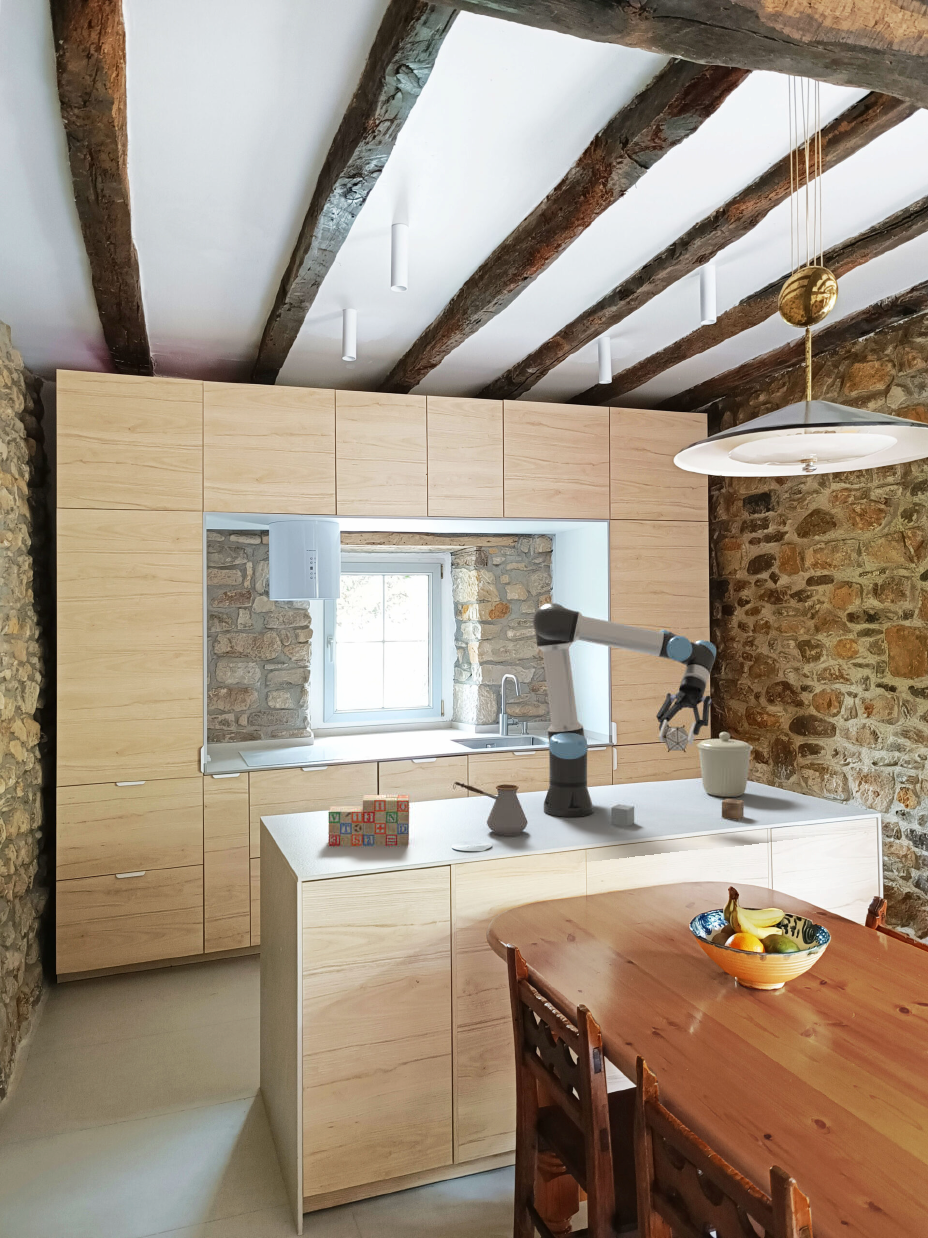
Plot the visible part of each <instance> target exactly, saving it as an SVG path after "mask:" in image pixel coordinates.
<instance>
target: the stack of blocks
mask: <svg viewBox="0 0 928 1238" xmlns="http://www.w3.org/2000/svg"><path fill="white" fill-rule="evenodd" d="M327 833H328V841H327V843H328V847H329V846H333V847H334V846H335V847H339V846H341V847H342V846H343V847H347V846H348V847H351V846H352V847H353V846H354V847H356V846H357V847H361V846H363V847H367V846H369V847H371V846H372V847H374V846H385V847H386V846H409V845H410V844H409V841H410V840H409V839H410V795H403V794H402V795H400V794H399V795H398V794H376V795H375V794H364V795H363V797H362V805H361V806H359V805H358V806H356V805H354V806H353V805H351V806H350V805H349V806H347V805H345V806H344V805H342V806H341V805H340V806H338V805H336V806H335V805H333V806H332V805H331V806H330V808H329V811H328V832H327Z"/></svg>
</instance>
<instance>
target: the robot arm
mask: <svg viewBox="0 0 928 1238" xmlns="http://www.w3.org/2000/svg"><path fill="white" fill-rule="evenodd" d="M532 625H533V629H534V631H535V633H534V634H535V639H536V640H535V641H536V647H537V648H538V649H539V650H540V651H541V652H542V658H543V666H544V667H543V668H544V675H545V682H546V683H545V684H546V693H547V698H548V707H549V708H548V709H549V715H550V716H549V717H550V721H551V724H550V725H549V727H548V728H547V737H548V751H549V754H548V755H549V757H548V759H549V762H548V763H549V765H548V766H549V770H548V771H549V773H548V774H549V777H548V781H549V784H548V789H547V792H546V794H545V799H544V801H543V812H544V813H546V814H548V815H550V816H556V817H561V818H562V817H564V818H567V817H568V818H575V817H576V818H578V817H587V816H589V815H591V814H593V813H594V811H593V810H594V805H593V800H592V798H591V795H590V792H589V788H588V749H589V745H588V741H587V738H586V737H585V732H584V725H583V724H582V723H580V722H579V721H578V712H577V704H576V696H575V689H574V688H575V687H574V680H573V672H572V663H571V656H570V650H569V649H570V647H571V646H572V644H573V643H575V642H577V641H580V642H581V641H582V642H586V643H591V644H596V645H601V646H605V647H610V648H615V649H620V650H625V651H630V652H634V653H635V652H636V653H640V654H643V655H644V654H645V655H650V656H655V657H659V658H664V659H668V660H672V661H674V662H678V663H680V664H682V665H685V666H686V667H685V670H684V672H683V676H682V678H681V681H680V685H679V688H678V691H677V693H676V694H671V693H669V692H668V693H667V694H666V698H665V700H664V701H663V704H662V705H661V707H660V709H659V710H658V712H657V714H656V719H657V721H658V723H659V726H658V730H659V734H658V739H659V741H660V743H664V737H663V736H665V735H666V732H667V729H668V727H667V725H668V726H669V727H670V724H669V722H670V721H671V720H672V718H673V717H675V716H676V714H678V712H679V711H682V709H686V708H688V709H692V710H693V711H692V712H693V715H694V720H695V721H692V723H691V727H690V729H689V733H688V739H687V740H688V744H689V746H692V745H693V743H694V740H695V736H698V735H699V734H700V730H701V727H708V726H709V717H710V707H711V705H712V703H713V701H712V699H711V696H710V695H706V696H705V695H704V694H705V691H706V687H707V685H708V682H709V679H710V678H709V677H710V675H711V671H712V670H713V669H712V668H713V665H714V663H715V660H716V655H717V648H716V646H715V645H714V644H713V643H712V642H711V641H709V640H704V639H701V640H697V641H695V642H692V641H690V640H689V638H687V637H686V636H685V635H684V636H683V635H677V634H675V633H673V632H672V631H668V630H666V629H661V630H660V631H657V630H652V629H648V628H644V627H643V628H642V627H639V626H632V625H628V624H624V623H620V622H614V621H609V620H604V619H600V618H599V619H598V618H594V617H589V616H585V615H583V614H582V613H581V612H580V611H576V610H572V609H569V608H566V607H564V606H563V605H561V604H559V603H556V602H555V603H554V602H553V603H551V602H550V603H549V602H548V603H545V604H543V605H542V606H540V607H538V609H537V610H536V611H535V613H534V615H533V619H532ZM702 702H703V706H702V707H703V708H702V718H701V717H700V713H699V708H698V705H699V704H701V703H702Z"/></svg>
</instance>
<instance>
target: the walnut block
mask: <svg viewBox="0 0 928 1238" xmlns="http://www.w3.org/2000/svg"><path fill="white" fill-rule="evenodd" d="M744 806H745V805H744V800H740V799H734V798H725V799H723V800H722V801H721V818H722V817H723V818H722V819H726V818H730V819H729V820H733V819H736V820H735V821H740V820H742V817H743V818H744V814H745V813H744V808H745V807H744ZM724 817H725V818H724ZM739 819H740V820H739Z"/></svg>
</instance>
